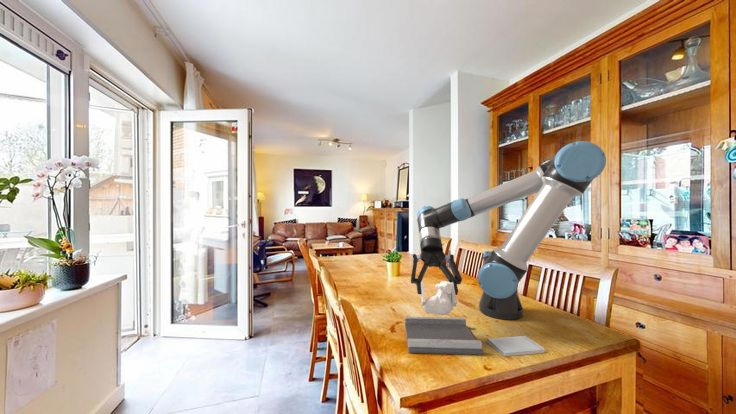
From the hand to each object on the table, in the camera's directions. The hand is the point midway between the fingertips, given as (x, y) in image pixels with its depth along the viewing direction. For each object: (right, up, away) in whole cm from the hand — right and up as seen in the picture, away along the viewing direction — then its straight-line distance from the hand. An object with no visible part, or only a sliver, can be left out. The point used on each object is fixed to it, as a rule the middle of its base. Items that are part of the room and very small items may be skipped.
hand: (439, 304), depth 80 cm
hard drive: (+21, -12, -3) cm, 24 cm away
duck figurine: (+2, -4, +3) cm, 5 cm away
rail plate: (+1, -12, +3) cm, 12 cm away
